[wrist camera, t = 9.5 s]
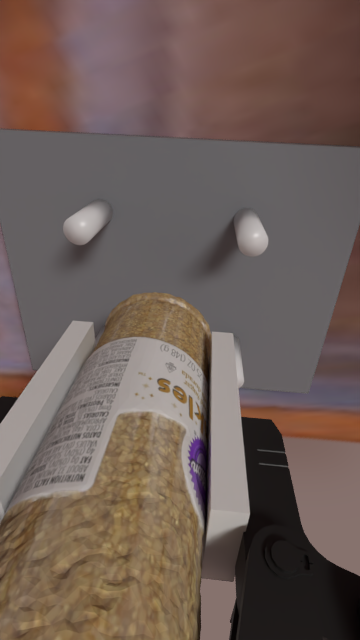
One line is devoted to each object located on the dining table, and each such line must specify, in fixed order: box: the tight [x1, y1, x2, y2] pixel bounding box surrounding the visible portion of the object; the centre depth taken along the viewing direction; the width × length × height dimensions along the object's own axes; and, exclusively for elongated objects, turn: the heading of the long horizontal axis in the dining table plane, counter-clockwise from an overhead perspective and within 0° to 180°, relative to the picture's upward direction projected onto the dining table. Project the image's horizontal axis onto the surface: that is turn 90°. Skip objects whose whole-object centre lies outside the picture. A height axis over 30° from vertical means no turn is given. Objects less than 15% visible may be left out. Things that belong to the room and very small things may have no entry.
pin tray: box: [0, 128, 360, 394], centre depth 18 cm, size 18×14×5 cm
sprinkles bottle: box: [0, 292, 212, 640], centre depth 9 cm, size 5×5×13 cm
